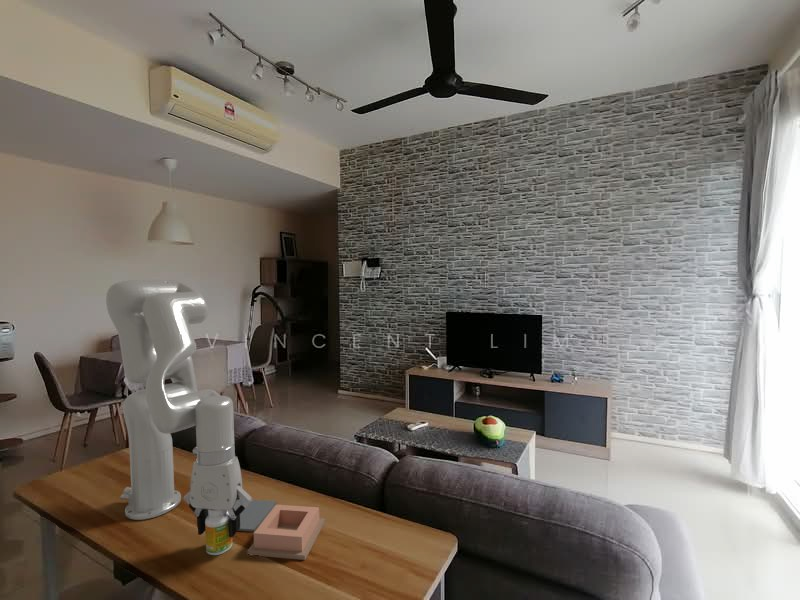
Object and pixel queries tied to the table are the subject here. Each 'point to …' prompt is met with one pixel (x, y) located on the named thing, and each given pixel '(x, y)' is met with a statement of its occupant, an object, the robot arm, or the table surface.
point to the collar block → (287, 532)
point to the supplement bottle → (217, 532)
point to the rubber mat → (254, 514)
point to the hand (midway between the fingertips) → (219, 531)
